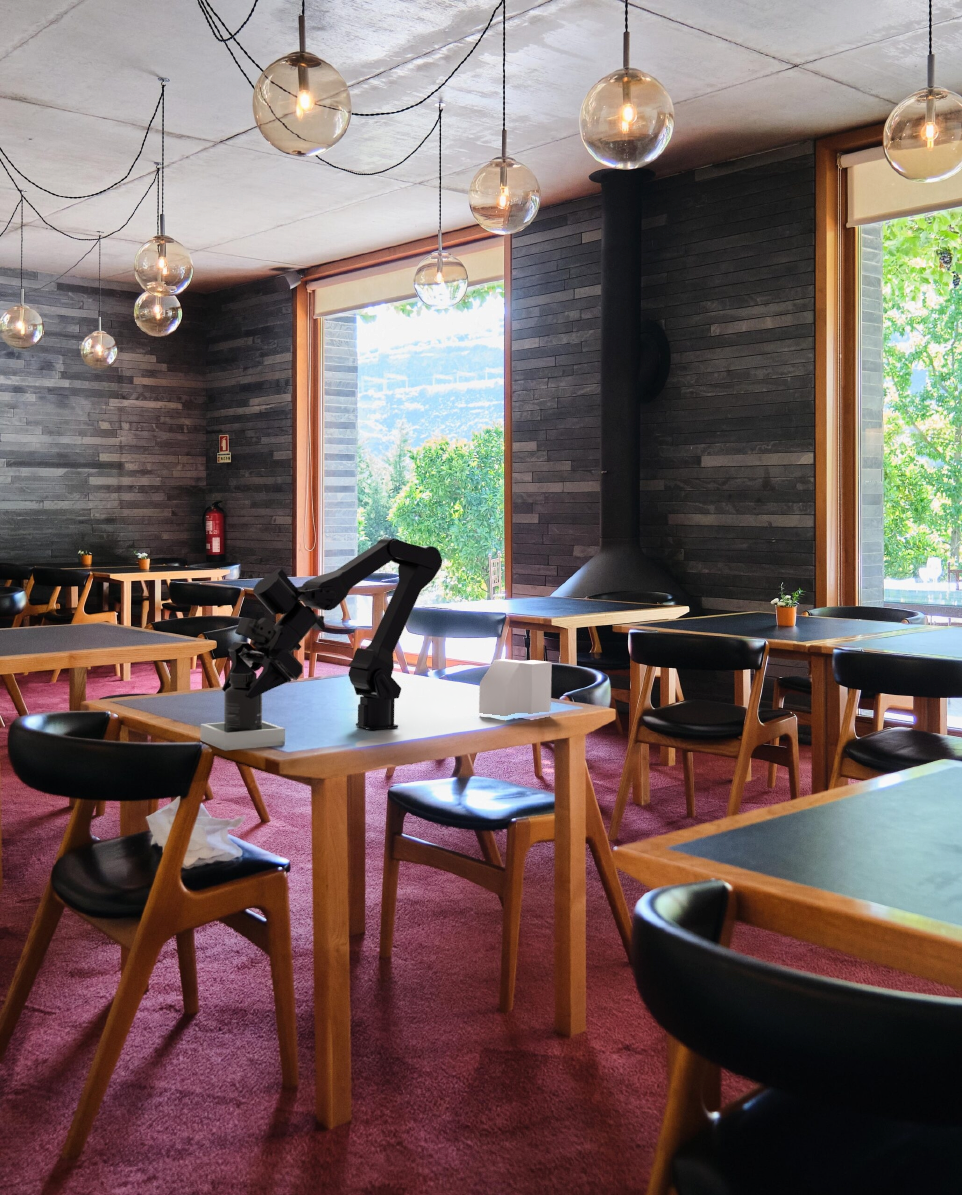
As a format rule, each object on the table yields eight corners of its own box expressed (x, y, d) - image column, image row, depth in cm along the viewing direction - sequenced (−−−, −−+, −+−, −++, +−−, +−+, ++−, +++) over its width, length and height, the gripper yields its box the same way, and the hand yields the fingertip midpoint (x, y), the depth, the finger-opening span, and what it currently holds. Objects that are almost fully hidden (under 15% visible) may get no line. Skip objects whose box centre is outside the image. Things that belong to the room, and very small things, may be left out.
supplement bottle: (267, 739, 208) (267, 674, 207) (231, 742, 204) (231, 676, 203) (254, 733, 214) (254, 670, 213) (219, 736, 210) (219, 671, 209)
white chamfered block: (550, 717, 246) (551, 662, 246) (517, 722, 238) (518, 665, 237) (512, 711, 253) (513, 657, 253) (479, 716, 245) (480, 661, 244)
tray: (258, 735, 217) (259, 719, 217) (284, 744, 207) (285, 728, 207) (200, 740, 210) (200, 724, 210) (224, 750, 201) (224, 733, 201)
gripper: (237, 599, 217) (184, 660, 210) (289, 605, 203) (233, 670, 196) (273, 638, 223) (222, 698, 216) (325, 646, 208) (272, 711, 202)
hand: (236, 694), depth 207 cm, fingers open, 9 cm apart
